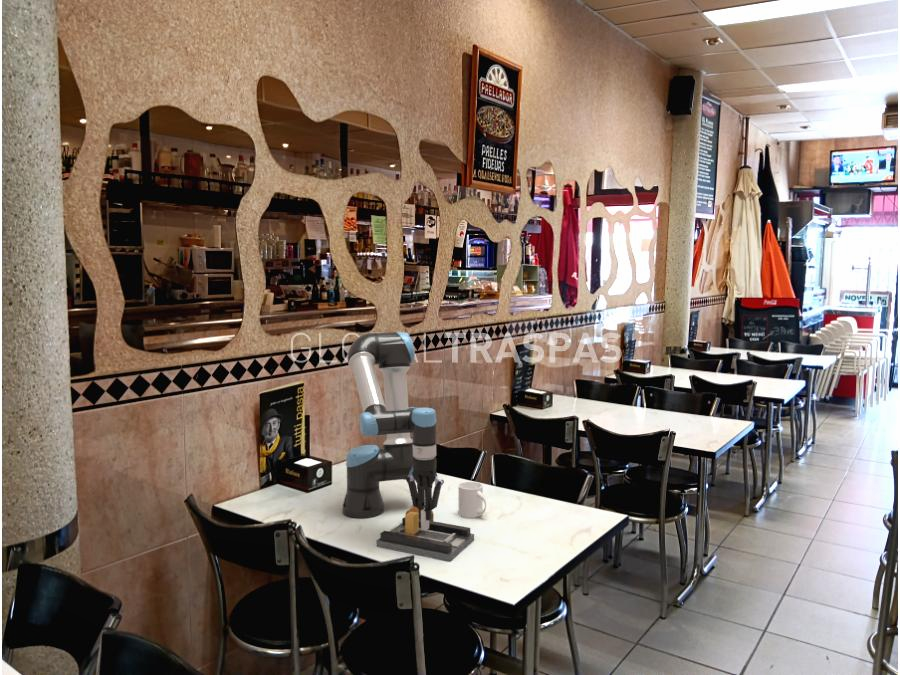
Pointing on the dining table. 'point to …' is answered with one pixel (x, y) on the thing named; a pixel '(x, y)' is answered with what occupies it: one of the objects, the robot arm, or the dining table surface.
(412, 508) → the bread roll
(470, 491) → the mug
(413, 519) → the lever
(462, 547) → the panel
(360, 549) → the dining table surface
